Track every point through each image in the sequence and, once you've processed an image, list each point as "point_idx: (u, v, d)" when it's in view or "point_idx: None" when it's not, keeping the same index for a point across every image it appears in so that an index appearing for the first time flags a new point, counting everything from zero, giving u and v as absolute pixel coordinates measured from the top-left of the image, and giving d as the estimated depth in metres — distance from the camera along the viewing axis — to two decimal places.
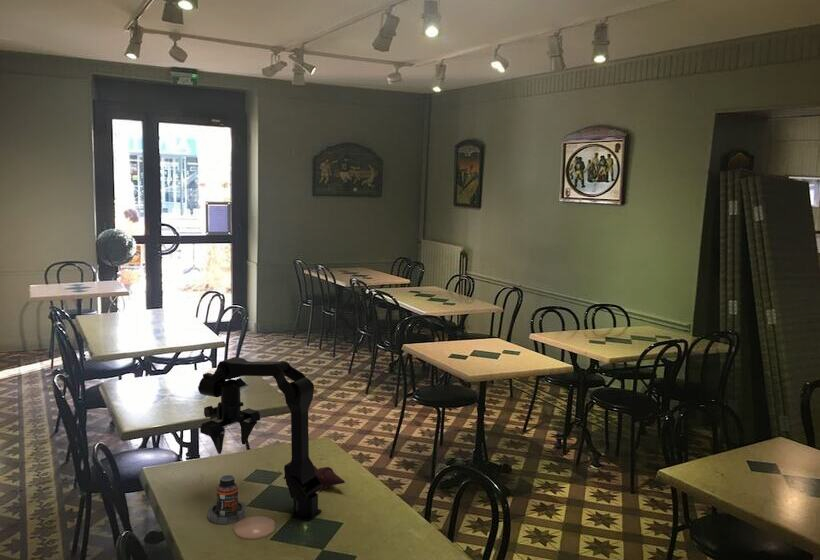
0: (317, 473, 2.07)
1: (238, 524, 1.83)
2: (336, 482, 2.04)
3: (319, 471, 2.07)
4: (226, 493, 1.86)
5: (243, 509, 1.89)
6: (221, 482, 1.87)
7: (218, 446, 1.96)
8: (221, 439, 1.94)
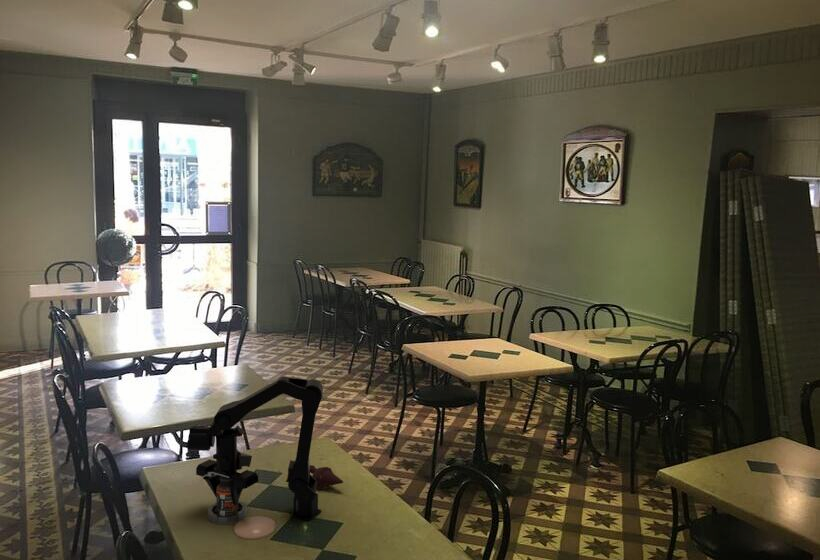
0: (315, 473, 2.07)
1: (238, 524, 1.83)
2: (334, 482, 2.04)
3: (318, 471, 2.07)
4: (226, 493, 1.86)
5: (243, 509, 1.89)
6: (221, 482, 1.87)
7: None
8: (209, 484, 1.88)
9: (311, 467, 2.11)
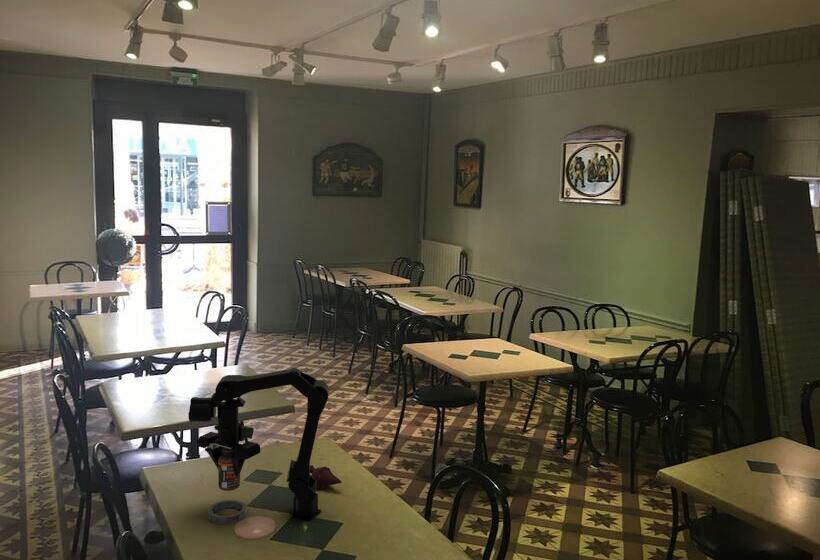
0: (314, 473, 2.07)
1: (238, 524, 1.83)
2: (333, 482, 2.04)
3: (316, 471, 2.07)
4: (228, 465, 1.84)
5: (243, 509, 1.89)
6: (223, 453, 1.85)
7: None
8: (211, 455, 1.86)
9: (310, 467, 2.11)
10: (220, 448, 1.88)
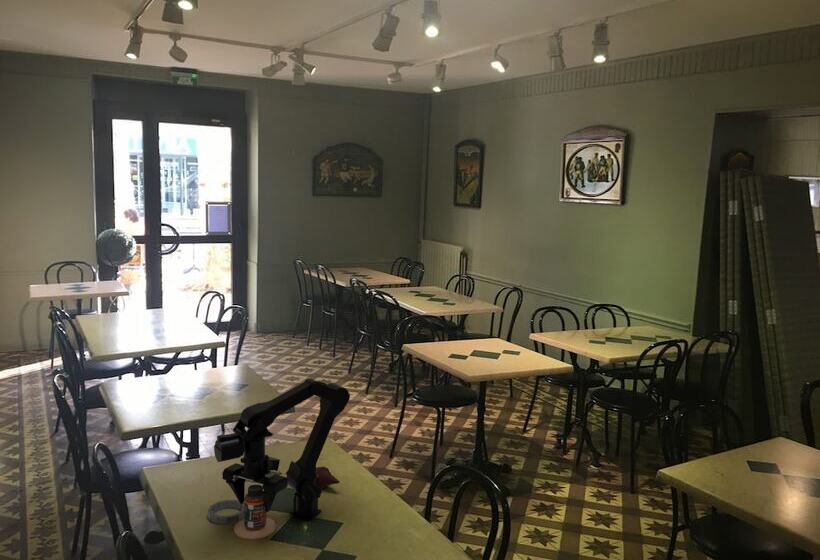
0: None
1: (238, 524, 1.83)
2: (331, 482, 2.04)
3: None
4: (254, 504, 1.78)
5: (243, 509, 1.89)
6: (249, 492, 1.79)
7: None
8: (232, 487, 1.81)
9: None
10: (241, 480, 1.83)
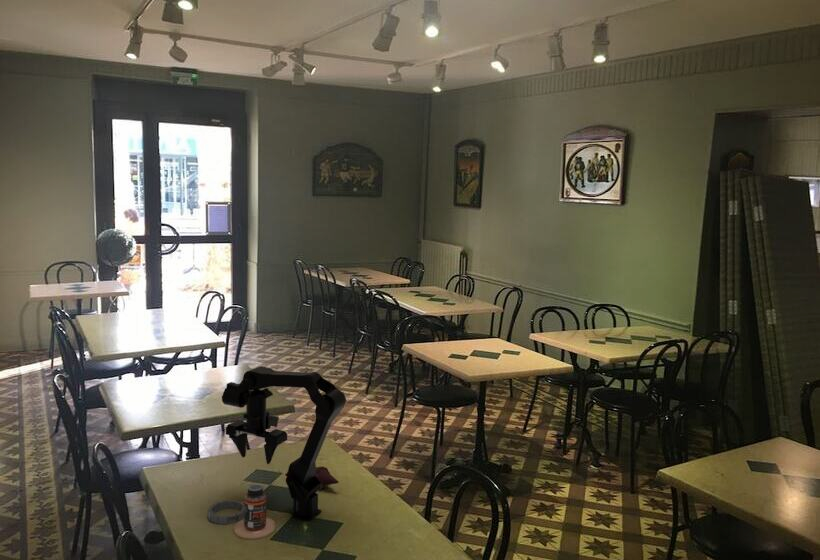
0: None
1: (238, 524, 1.83)
2: (330, 482, 2.04)
3: None
4: (254, 504, 1.78)
5: (243, 509, 1.89)
6: (249, 492, 1.79)
7: None
8: (235, 442, 1.95)
9: None
10: (243, 435, 1.97)
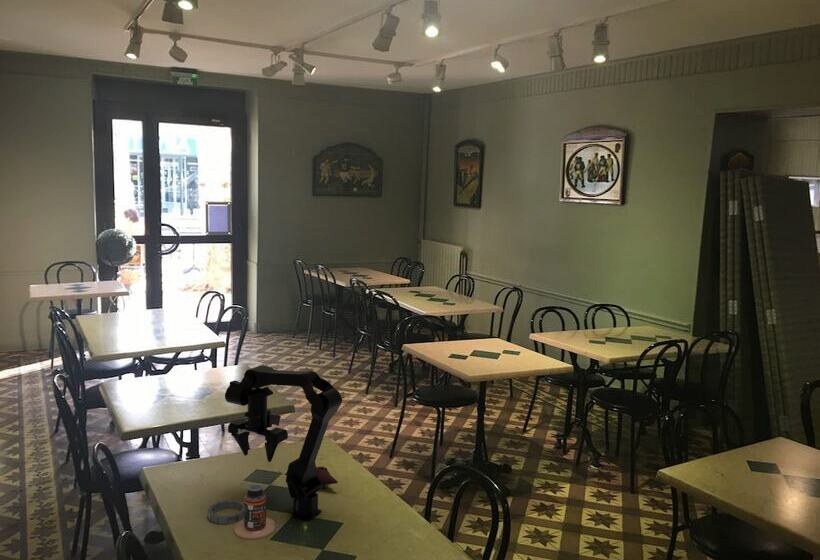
0: None
1: (238, 524, 1.83)
2: (329, 482, 2.04)
3: None
4: (254, 504, 1.78)
5: (243, 509, 1.89)
6: (249, 492, 1.79)
7: None
8: (237, 440, 1.97)
9: None
10: (245, 433, 2.00)
